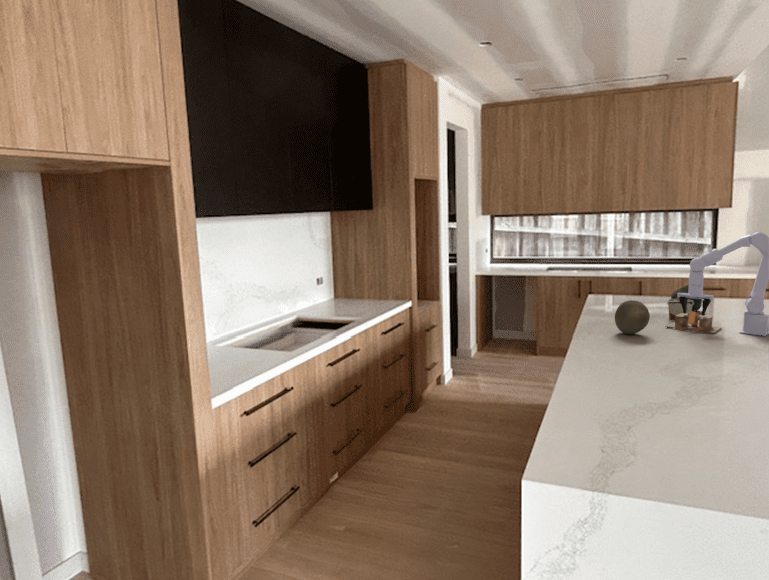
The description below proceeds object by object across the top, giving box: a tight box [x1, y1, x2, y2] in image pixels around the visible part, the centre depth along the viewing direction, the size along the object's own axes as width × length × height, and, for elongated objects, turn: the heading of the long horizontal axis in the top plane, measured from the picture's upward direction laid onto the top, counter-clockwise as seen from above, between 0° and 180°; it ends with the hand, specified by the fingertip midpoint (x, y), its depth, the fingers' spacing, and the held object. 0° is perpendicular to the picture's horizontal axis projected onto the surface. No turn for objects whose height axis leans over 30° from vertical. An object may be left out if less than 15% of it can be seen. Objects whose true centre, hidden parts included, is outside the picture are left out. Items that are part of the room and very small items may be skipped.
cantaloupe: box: [614, 299, 651, 335], centre depth 245 cm, size 14×14×15 cm
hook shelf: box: [664, 313, 723, 335], centre depth 255 cm, size 20×13×6 cm, turn 46°
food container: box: [666, 298, 694, 321], centre depth 276 cm, size 12×6×10 cm, turn 84°
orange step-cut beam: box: [688, 311, 700, 326], centre depth 255 cm, size 2×7×6 cm, turn 136°
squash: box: [670, 284, 703, 312], centre depth 297 cm, size 14×15×15 cm
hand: (694, 314), depth 254 cm, fingers open, 7 cm apart
